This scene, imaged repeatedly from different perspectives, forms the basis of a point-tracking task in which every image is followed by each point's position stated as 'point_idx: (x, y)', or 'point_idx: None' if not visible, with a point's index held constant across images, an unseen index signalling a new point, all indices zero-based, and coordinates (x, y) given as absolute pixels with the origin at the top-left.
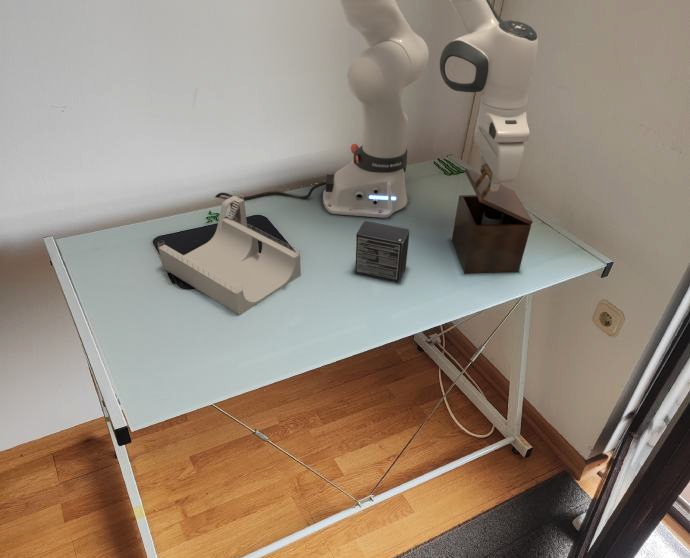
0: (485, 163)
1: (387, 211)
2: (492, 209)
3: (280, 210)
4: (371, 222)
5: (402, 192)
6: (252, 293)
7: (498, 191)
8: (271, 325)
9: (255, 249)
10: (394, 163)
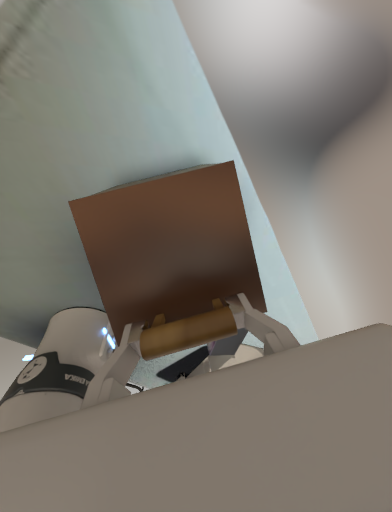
0: (131, 356)
1: None
2: None
3: (144, 370)
4: (213, 351)
5: (80, 326)
6: (246, 351)
7: (155, 261)
8: None
9: (205, 366)
10: (77, 382)
